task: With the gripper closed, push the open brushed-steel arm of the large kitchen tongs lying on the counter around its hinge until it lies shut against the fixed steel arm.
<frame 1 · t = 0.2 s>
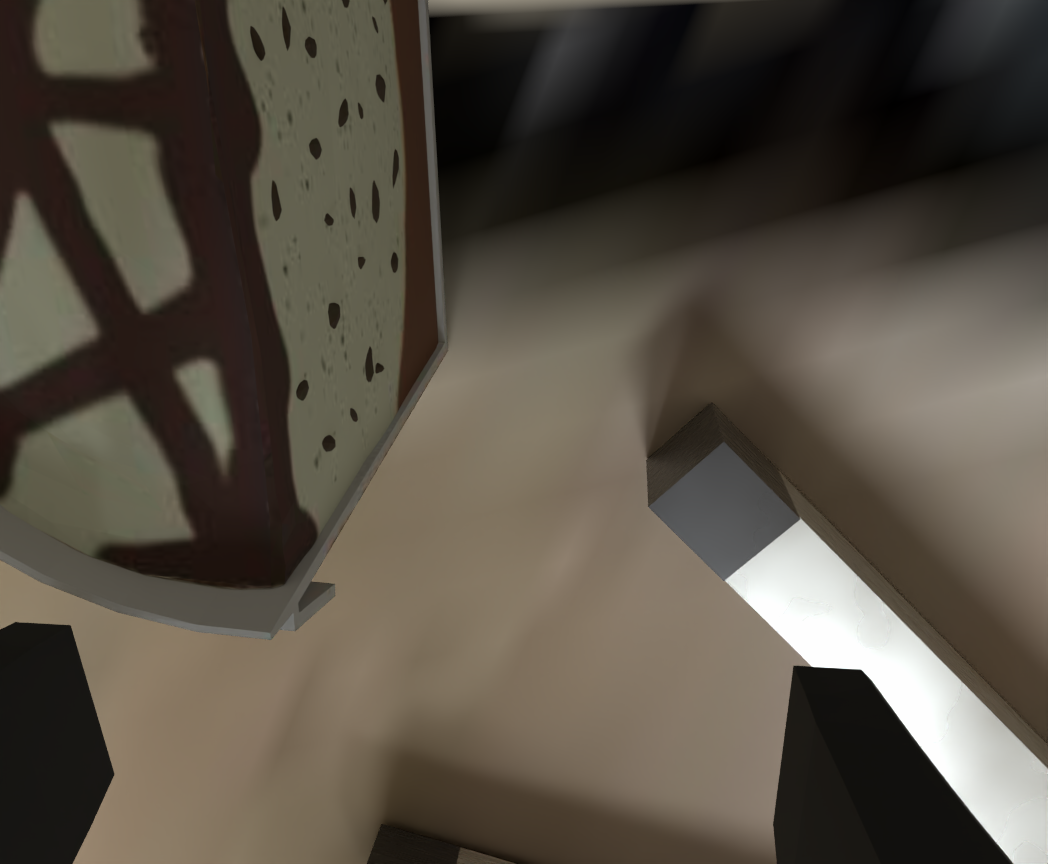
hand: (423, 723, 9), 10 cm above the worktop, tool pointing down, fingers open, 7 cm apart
fixed tong arm: (1021, 776, 20), on the worktop
food container: (283, 116, 18), on the worktop
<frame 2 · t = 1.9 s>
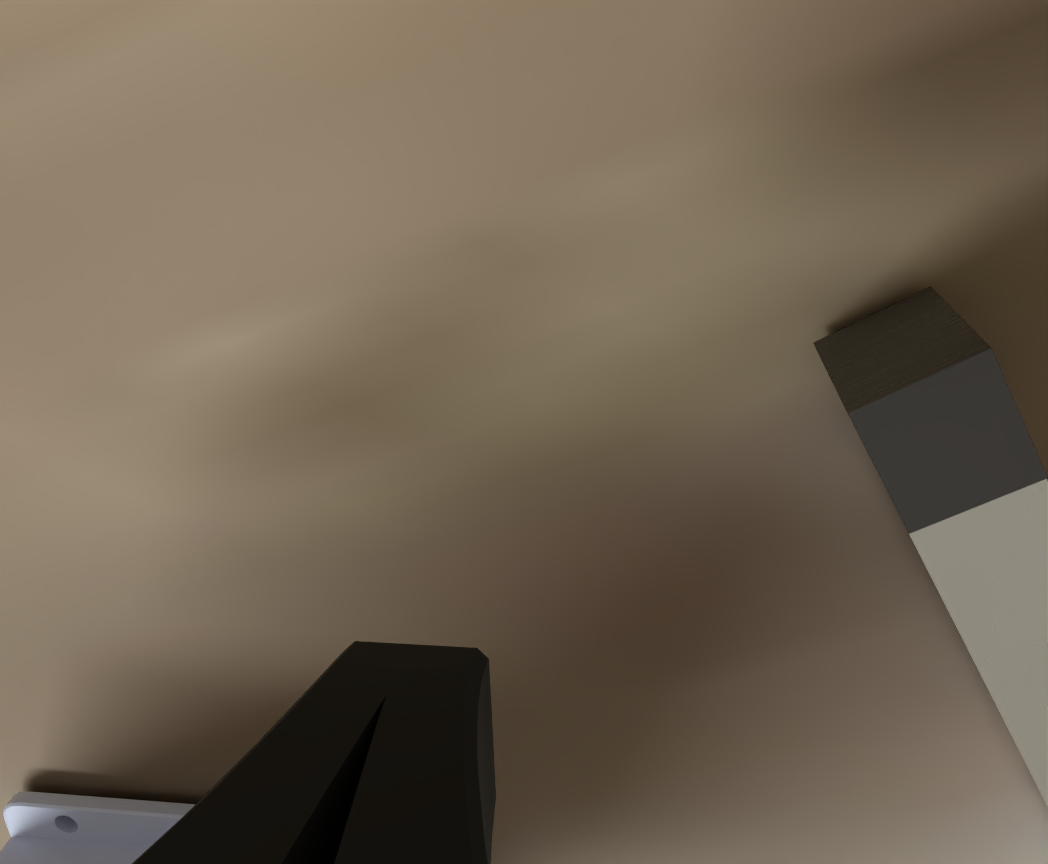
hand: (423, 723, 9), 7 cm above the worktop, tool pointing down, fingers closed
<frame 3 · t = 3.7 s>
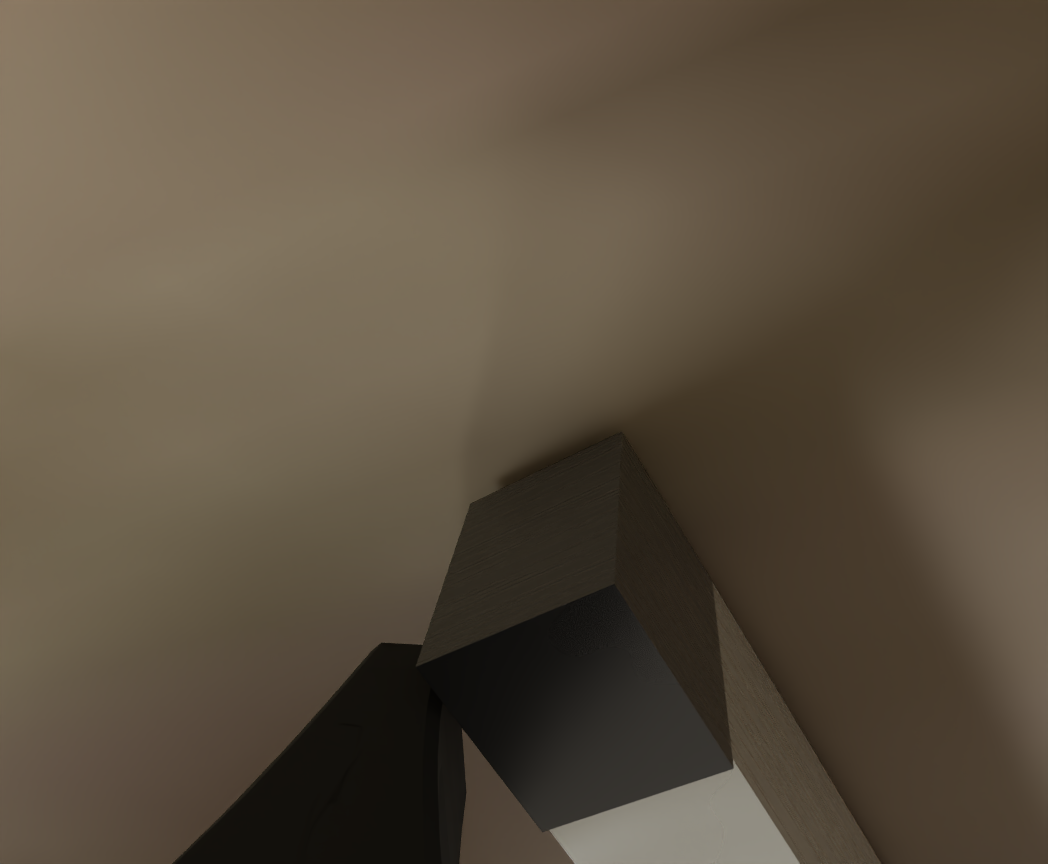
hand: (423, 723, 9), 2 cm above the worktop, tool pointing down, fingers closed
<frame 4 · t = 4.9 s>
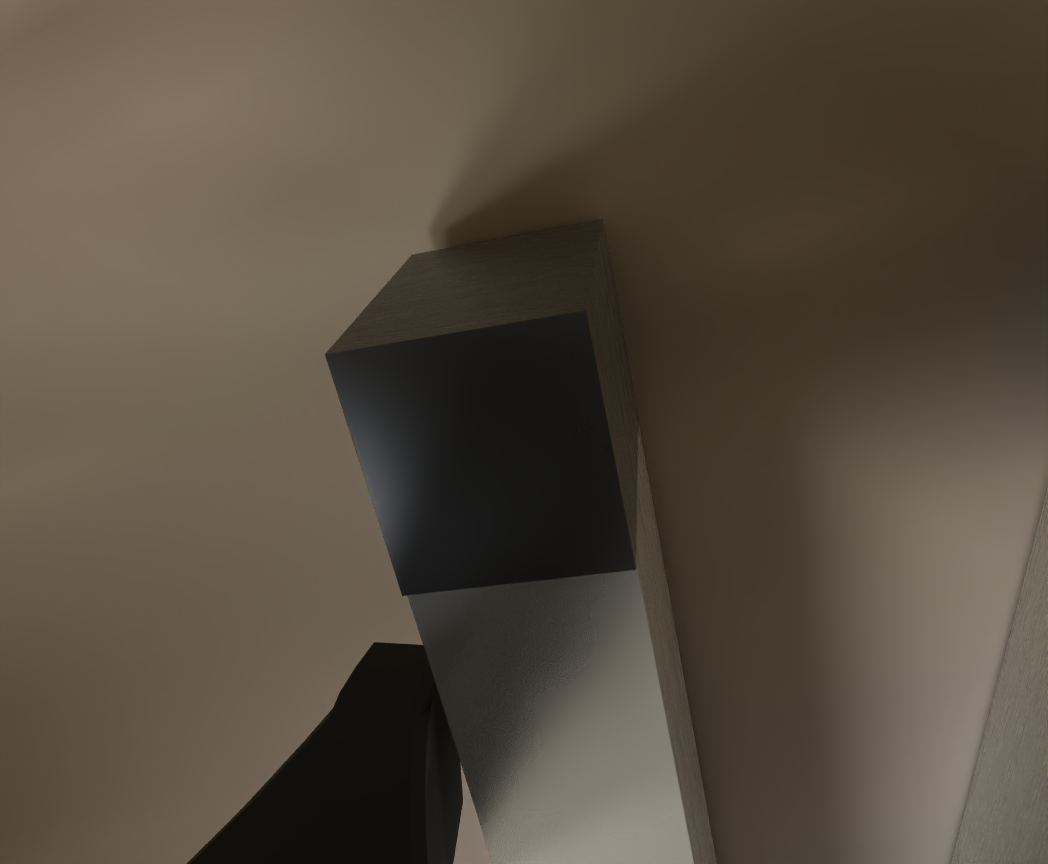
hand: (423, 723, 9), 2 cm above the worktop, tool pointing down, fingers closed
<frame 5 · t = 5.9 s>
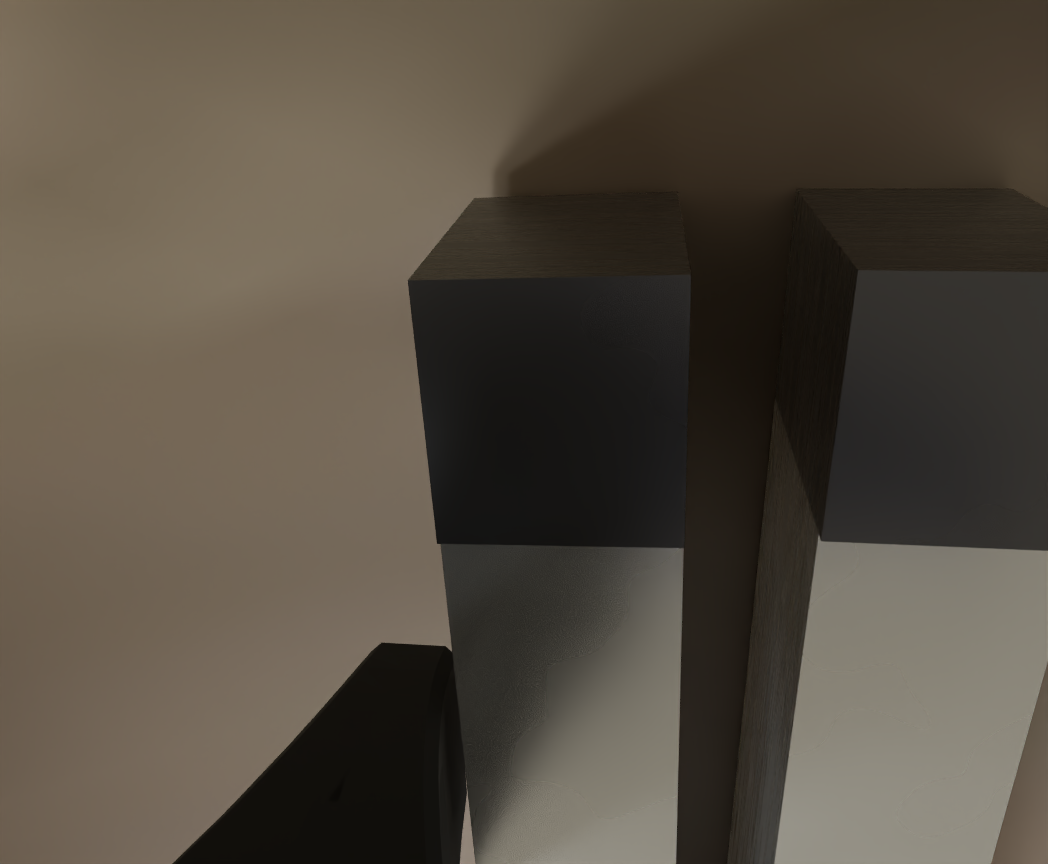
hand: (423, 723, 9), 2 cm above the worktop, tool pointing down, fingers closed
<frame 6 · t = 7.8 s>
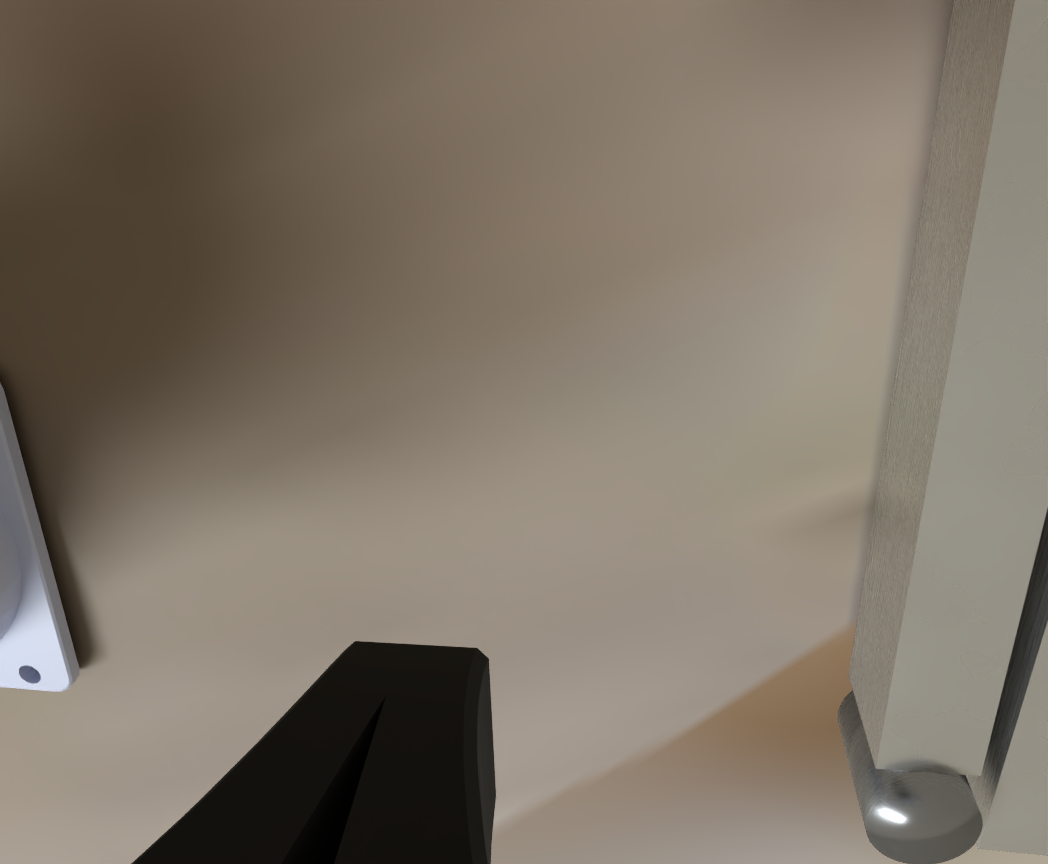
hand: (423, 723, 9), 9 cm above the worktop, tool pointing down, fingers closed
hinged tong arm: (1004, 263, 14), point 2 cm above the worktop, hinge at 1.7°
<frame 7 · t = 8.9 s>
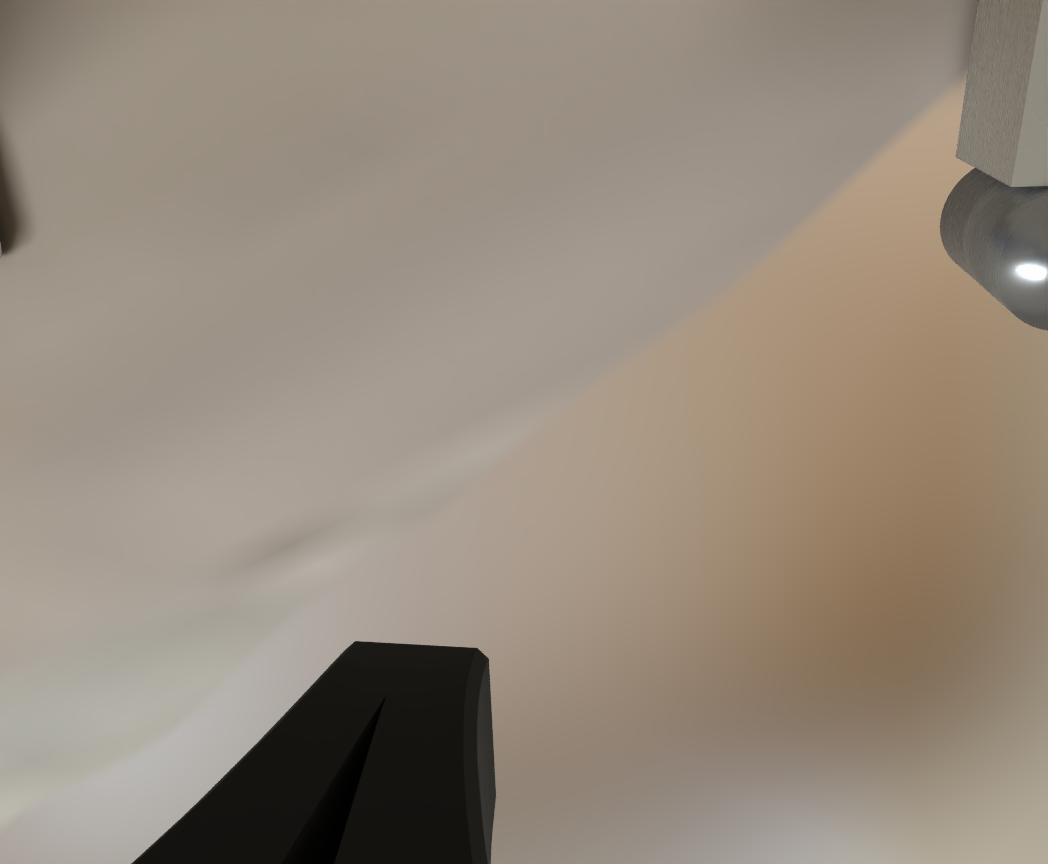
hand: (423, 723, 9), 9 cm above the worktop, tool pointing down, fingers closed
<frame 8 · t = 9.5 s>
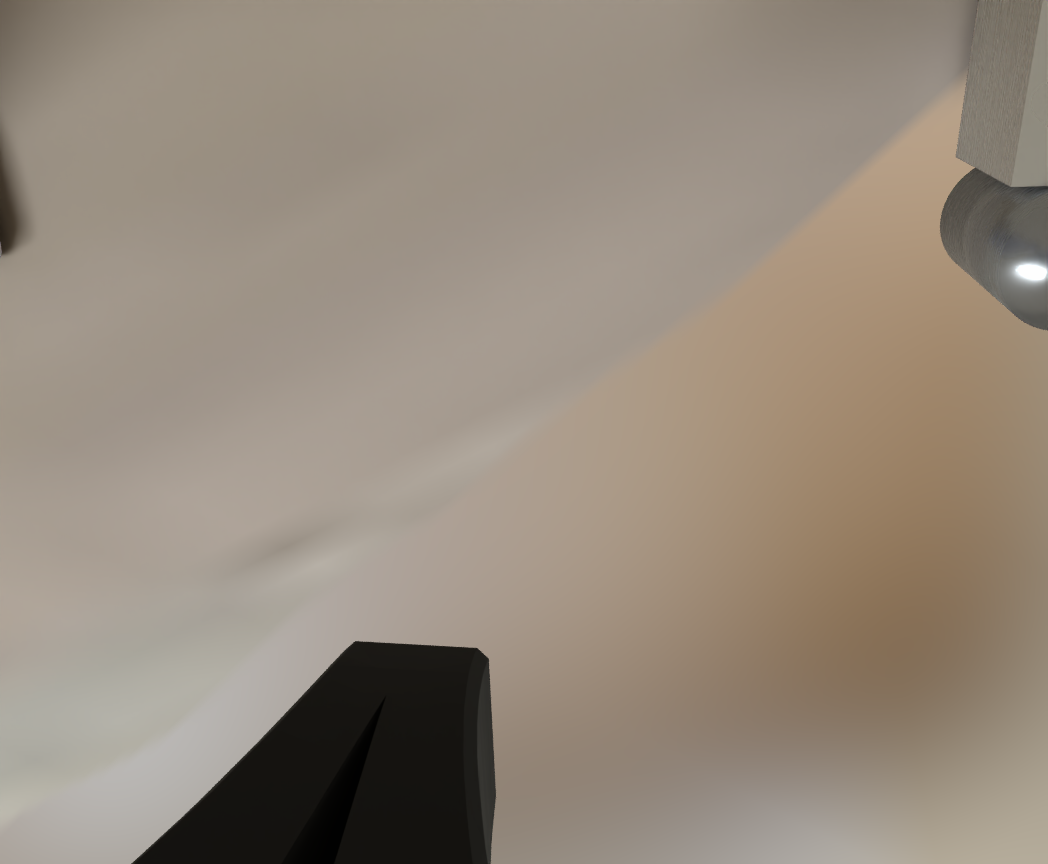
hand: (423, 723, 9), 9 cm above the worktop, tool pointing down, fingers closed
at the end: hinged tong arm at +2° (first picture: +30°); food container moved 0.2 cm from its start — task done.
